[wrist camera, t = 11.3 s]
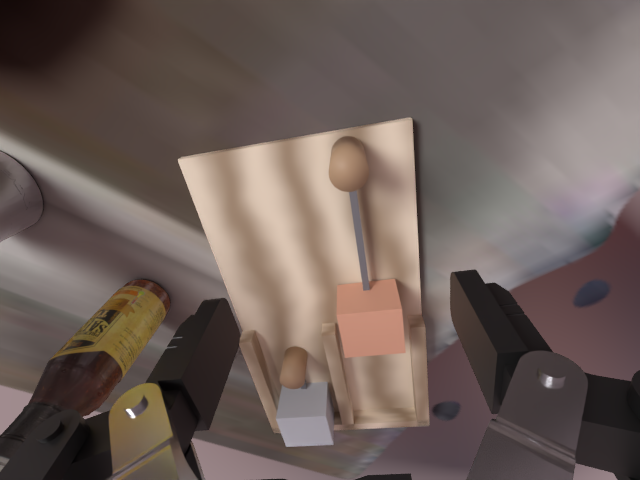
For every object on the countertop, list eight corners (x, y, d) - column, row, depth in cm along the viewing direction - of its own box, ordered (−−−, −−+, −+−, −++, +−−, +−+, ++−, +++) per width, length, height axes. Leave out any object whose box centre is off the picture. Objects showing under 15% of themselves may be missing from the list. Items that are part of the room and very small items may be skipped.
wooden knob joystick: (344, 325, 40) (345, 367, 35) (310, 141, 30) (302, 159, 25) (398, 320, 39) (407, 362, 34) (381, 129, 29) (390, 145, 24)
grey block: (291, 412, 49) (286, 446, 45) (269, 348, 43) (261, 381, 39) (334, 409, 48) (333, 444, 44) (318, 344, 42) (315, 377, 38)
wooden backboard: (277, 414, 51) (274, 433, 48) (182, 157, 33) (167, 165, 30) (424, 405, 48) (429, 425, 45) (410, 117, 30) (416, 122, 27)
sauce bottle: (144, 267, 39) (-13, 432, 22) (183, 302, 42) (68, 478, 24) (111, 292, 42) (-57, 460, 24) (149, 324, 44) (21, 499, 26)
